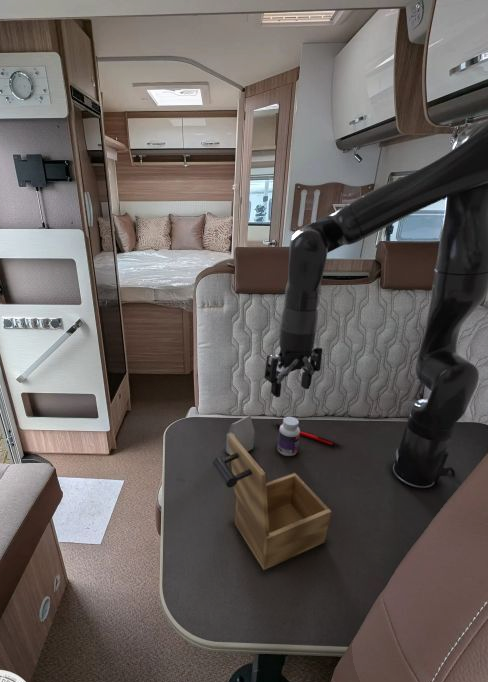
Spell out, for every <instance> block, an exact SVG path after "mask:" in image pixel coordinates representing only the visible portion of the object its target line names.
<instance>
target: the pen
mask: <svg viewBox="0 0 488 682" xmlns="http://www.w3.org/2000/svg"><path fill="white" fill-rule="evenodd" d="M274 425H275V426H277V427H278V428H280V426H281V425H282V424H280V423H274ZM300 436H304V437H306V438H309V439H312V440H316V441H318V442H321V443H325V444H327V445H330V446H336V447H339V444H337V443H335V441H333V440H330V439H327V438H324V437H322V436H316V435H314V434H309V433H307V432H304V431H301V430H300Z"/></svg>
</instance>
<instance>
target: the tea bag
mask: <svg viewBox="0 0 488 682" xmlns="http://www.w3.org/2000/svg"><path fill="white" fill-rule="evenodd" d="M229 433H232V434H233V435H234V437H235V438H236V439H237V440H238V441H239V442H240V444H241V445H242V446H243V447H244V448H245V450H246V451H247V452H248V453H249V452H250V451H251V450H253V449H254V444H255V443H254V442H255V428H254V424H253V420H252V416H251V415H250V414H249V415H247V416H245V417H243V418H241V419H239V420H237V421H235V422H233V423H231V424H230V428H229V429H228V431H227V433H226V445H225V453H226V454H228V455H230V449H229V441H228V434H229Z"/></svg>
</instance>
